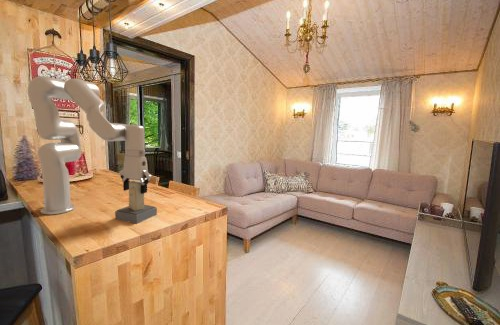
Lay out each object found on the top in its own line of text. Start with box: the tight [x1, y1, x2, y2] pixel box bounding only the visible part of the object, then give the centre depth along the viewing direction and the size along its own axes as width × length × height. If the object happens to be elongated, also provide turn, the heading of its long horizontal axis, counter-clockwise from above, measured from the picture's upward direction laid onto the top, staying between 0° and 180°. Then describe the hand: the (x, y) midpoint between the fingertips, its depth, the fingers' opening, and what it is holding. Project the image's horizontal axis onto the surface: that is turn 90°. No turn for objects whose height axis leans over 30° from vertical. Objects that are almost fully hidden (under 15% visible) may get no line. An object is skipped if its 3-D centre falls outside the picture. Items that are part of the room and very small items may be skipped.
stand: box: [114, 204, 158, 225], centre depth 108 cm, size 12×12×4 cm
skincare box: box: [128, 180, 145, 211], centre depth 107 cm, size 6×4×12 cm
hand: (135, 191), depth 106 cm, fingers open, 9 cm apart
